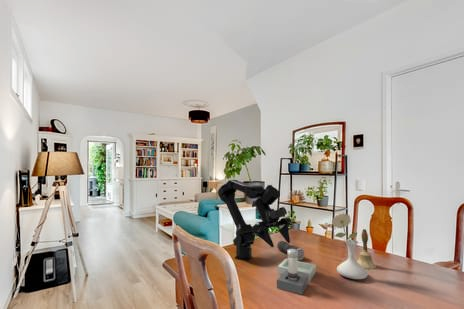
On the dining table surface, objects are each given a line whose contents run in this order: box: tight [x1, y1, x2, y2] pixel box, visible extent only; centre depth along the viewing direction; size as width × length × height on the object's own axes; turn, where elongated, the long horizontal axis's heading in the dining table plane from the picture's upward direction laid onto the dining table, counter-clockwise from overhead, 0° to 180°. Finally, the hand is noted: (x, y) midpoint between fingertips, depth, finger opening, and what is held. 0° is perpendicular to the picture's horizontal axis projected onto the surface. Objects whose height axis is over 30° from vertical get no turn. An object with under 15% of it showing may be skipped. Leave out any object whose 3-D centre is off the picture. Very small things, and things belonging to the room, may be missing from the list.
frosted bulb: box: [286, 249, 299, 282], centre depth 92 cm, size 4×4×13 cm
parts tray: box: [277, 258, 317, 283], centre depth 103 cm, size 13×10×3 cm
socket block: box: [276, 271, 309, 296], centre depth 91 cm, size 9×9×3 cm
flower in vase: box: [331, 212, 369, 280], centre depth 101 cm, size 13×11×25 cm
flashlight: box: [276, 240, 305, 261], centre depth 124 cm, size 15×5×5 cm, turn 26°
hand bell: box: [356, 228, 377, 270], centre depth 111 cm, size 8×8×16 cm
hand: (281, 244), depth 99 cm, fingers open, 9 cm apart
